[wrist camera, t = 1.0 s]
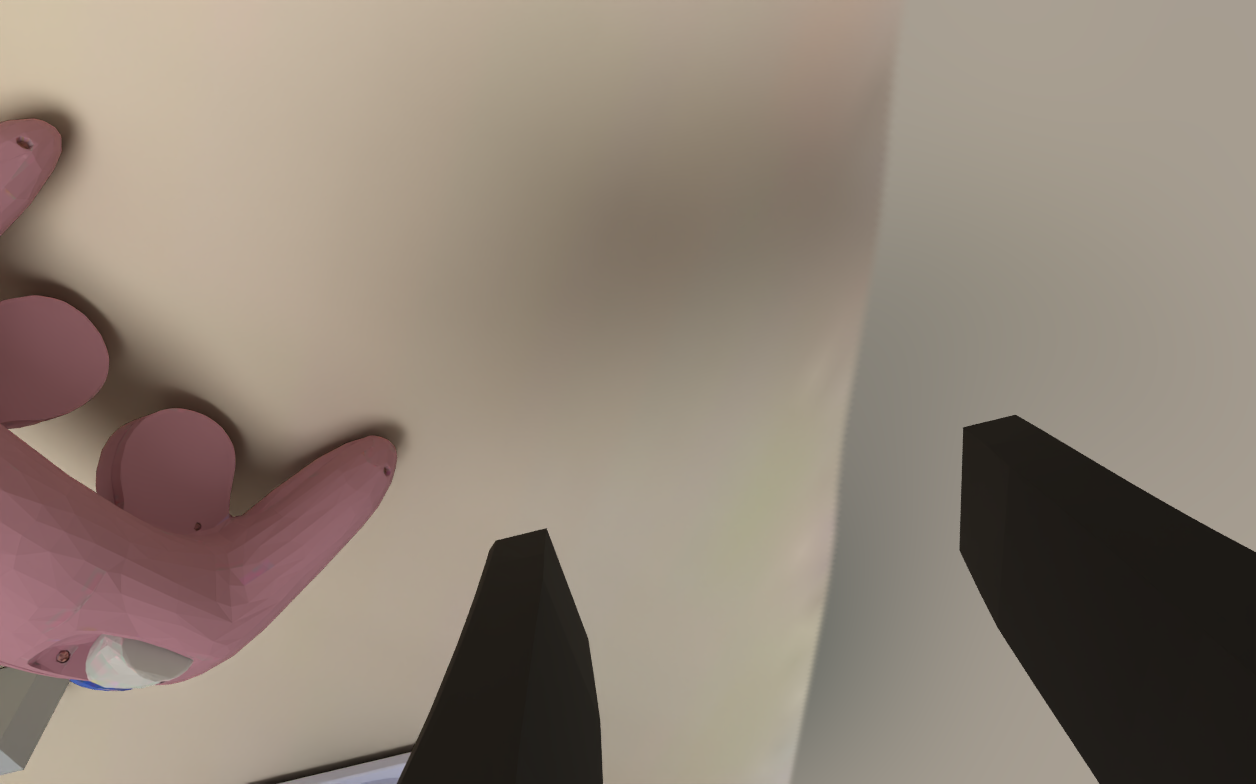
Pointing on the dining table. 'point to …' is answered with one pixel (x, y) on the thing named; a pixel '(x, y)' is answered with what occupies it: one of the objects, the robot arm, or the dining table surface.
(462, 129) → the dining table surface
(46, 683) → the grey bin
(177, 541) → the video game controller
